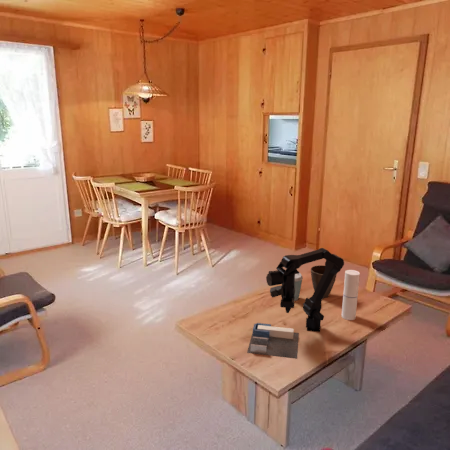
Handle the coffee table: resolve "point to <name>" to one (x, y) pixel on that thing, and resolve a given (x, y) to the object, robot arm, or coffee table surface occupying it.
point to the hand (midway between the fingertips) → (287, 312)
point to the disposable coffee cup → (297, 285)
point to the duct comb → (272, 344)
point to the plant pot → (316, 276)
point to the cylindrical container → (350, 294)
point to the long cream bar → (278, 331)
